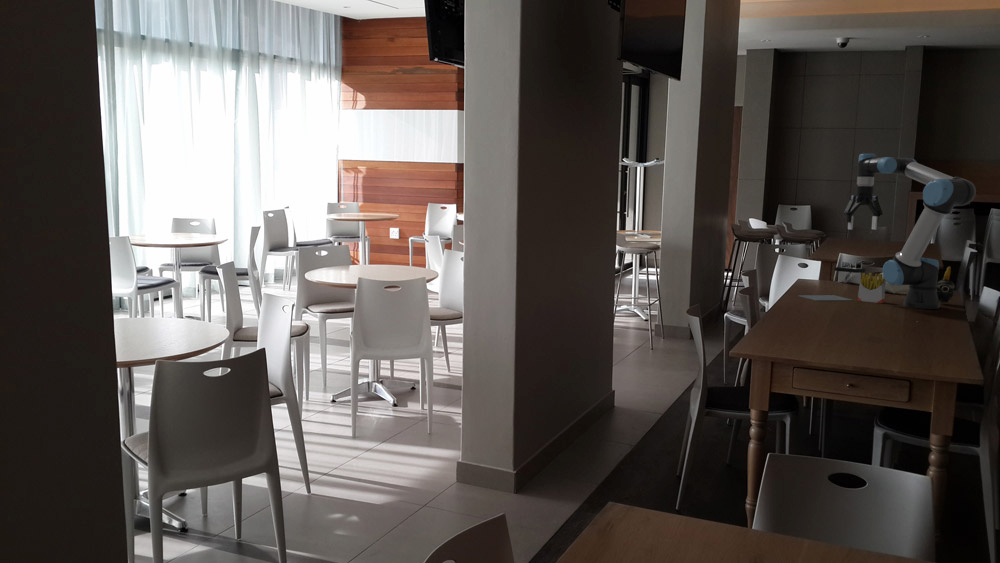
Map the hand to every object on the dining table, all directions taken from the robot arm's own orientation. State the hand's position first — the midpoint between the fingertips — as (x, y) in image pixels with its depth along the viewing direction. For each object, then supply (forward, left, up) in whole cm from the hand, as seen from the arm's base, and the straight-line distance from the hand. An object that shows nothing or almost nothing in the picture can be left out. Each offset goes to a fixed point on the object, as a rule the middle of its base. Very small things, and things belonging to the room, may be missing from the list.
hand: (862, 229), depth 409 cm
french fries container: (-15, +3, -38) cm, 41 cm away
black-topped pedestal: (+42, -23, -34) cm, 58 cm away
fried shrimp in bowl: (-20, -32, -34) cm, 51 cm away
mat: (-4, +20, -33) cm, 39 cm away
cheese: (+16, -22, -34) cm, 44 cm away
